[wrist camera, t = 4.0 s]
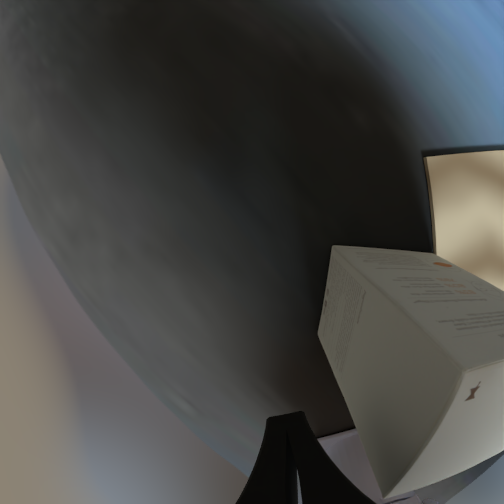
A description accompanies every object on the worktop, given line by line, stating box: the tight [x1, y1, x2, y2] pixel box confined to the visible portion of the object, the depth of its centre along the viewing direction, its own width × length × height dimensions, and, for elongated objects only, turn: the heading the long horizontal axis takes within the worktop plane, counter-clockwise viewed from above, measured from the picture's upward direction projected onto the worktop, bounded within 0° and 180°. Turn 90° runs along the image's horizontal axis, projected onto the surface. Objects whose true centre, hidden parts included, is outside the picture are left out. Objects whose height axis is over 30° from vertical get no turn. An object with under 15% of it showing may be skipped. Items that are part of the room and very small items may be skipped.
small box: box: [318, 245, 504, 499], centre depth 12 cm, size 8×6×13 cm
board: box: [423, 150, 504, 291], centre depth 18 cm, size 19×14×1 cm
